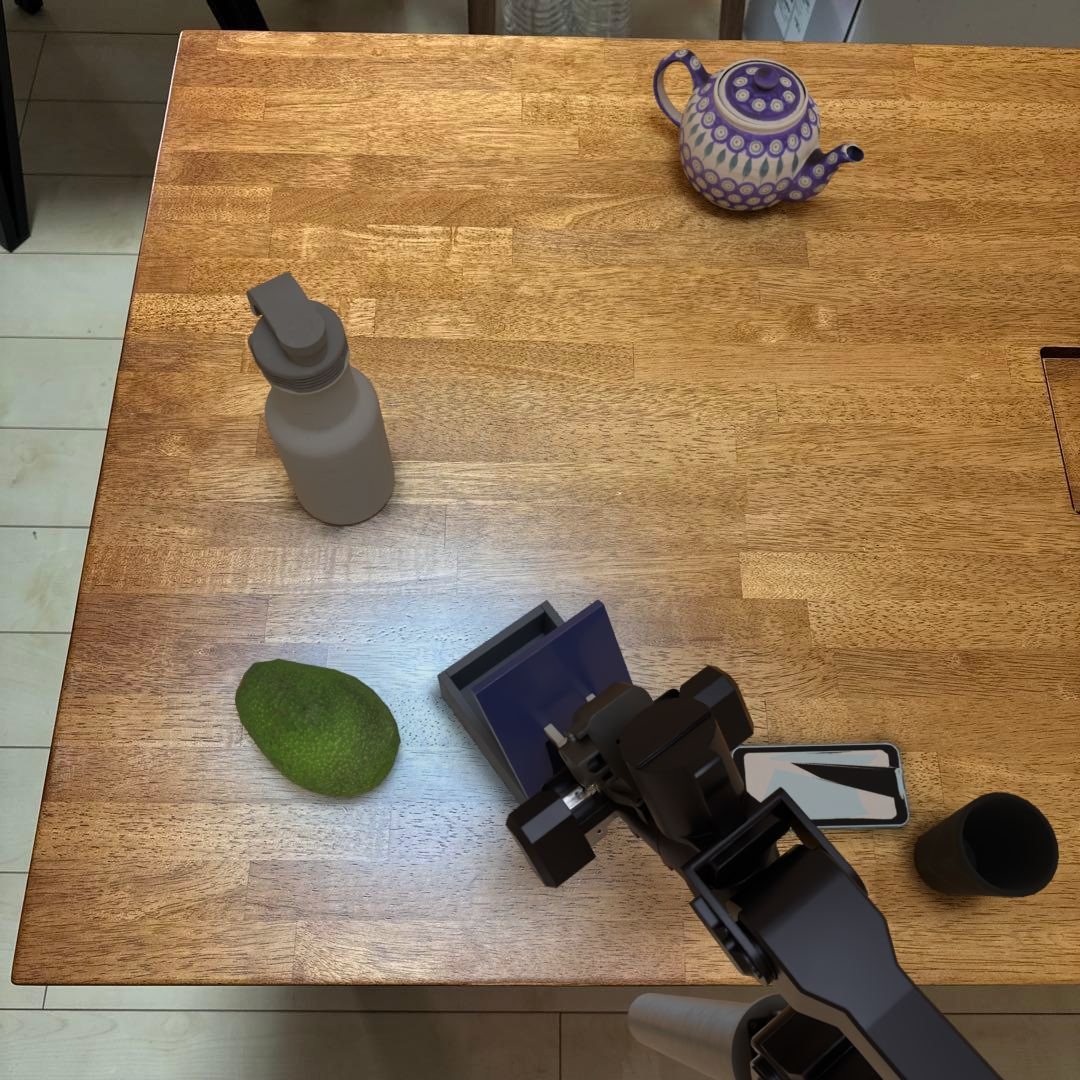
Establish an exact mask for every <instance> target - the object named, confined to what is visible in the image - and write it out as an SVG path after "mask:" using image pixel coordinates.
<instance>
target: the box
mask: <svg viewBox="0 0 1080 1080" xmlns="http://www.w3.org/2000/svg"><path fill="white" fill-rule="evenodd" d="M565 622H566V621H564V619H563V617H562V616H561V615H560V614H559V613H558V611H557V610H556V609H555V608H554V607H553V605H552V603H550V602H549V600H548V599H545V600H544V601H542V602H541V603H540V604H538V605H537V606H535V607H534V608H533V609H531V610H529V611H528V612H527V613H525V614H523V615H522V616H521V617H519V618H518V619H516V620H515V621H513V622H512V623H510V624H509V625H507V626H506V627H505V628H503V629H501V630H500V631H499V632H498V633H496V634H495V635H493V636H492V637H490V638H489V639H487V640H486V641H485V642H483V643H481V644H480V645H478V646H477V647H476V648H474V649H472V650H471V651H470V652H468V653H467V654H465V655H464V656H463V657H461V658H460V659H458V660H457V661H455V662H453V664H451V665H450V666H448V667H447V668H445V669H443V670H442V671H441V672H439V673H438V674H437V675H436V678H437V683H438V685H439V690H440V694H441V697H442V699H443V700H444V702H445V703H446V704H447V706H448V707H449V708H450V709H451V712H452V713H453V714H454V715H455V717H456V718H457V720H458V721H459V722H460V724H461V725H462V727H463V728H464V729H465V731H466V732H467V733H468V735H469V737H470V738H471V739H472V741H473V742H474V744H475V745H476V746H477V747H478V749H479V750H480V752H481V753H482V754H483V756H484V757H485V759H486V760H487V762H488V763H489V764H490V766H491V767H492V769H493V770H494V771H495V772H496V774H497V775H498V778H500V780H501V782H503V784H504V785H505V786H506V788H507V789H508V791H509V792H510V794H511V796H512V797H513V798H514V799H515V801H516V802H517V804H518V805H519V806H520V805H521V804H523V803H524V802H525V801H527V798H526V796H525V794H524V792H523V790H522V788H521V786H520V784H519V782H518V780H517V778H516V776H515V775H514V773H513V771H512V769H511V767H510V765H509V763H508V761H507V759H506V757H505V755H504V753H503V751H502V750H501V748H500V746H499V744H498V742H497V740H496V738H495V736H494V734H493V732H492V730H491V728H490V726H489V725H488V723H487V721H486V719H485V717H484V715H483V713H482V711H481V709H480V707H479V705H478V703H477V701H476V700H475V698H474V696H473V694H472V692H471V690H470V688H472V687H473V686H475V685H476V684H478V683H479V682H480V681H482V680H483V679H485V678H486V677H488V676H489V675H490V674H492V673H493V672H495V671H496V670H498V669H499V668H500V667H502V666H503V665H505V664H506V663H508V662H509V661H510V660H512V659H513V658H515V657H516V656H518V655H519V654H520V653H522V652H523V651H525V650H526V649H528V648H529V647H530V646H532V645H533V644H535V643H536V642H538V641H539V640H540V639H542V638H543V637H545V636H546V635H548V634H549V633H550V632H552V631H553V630H555V629H556V628H558V627H559V626H560V625H562V624H563V623H565Z"/></svg>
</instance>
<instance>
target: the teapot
mask: <svg viewBox="0 0 1080 1080" xmlns="http://www.w3.org/2000/svg"><path fill="white" fill-rule="evenodd" d="M673 63H682V64H683V65H684V66H685V67H686V69H687V71H688V72H689V74H690V77H691V85H692V91H691V95H690V96H689V98H688V101H687V102H686V105H685V107H684V109H683V112H681V111H680V110H679V109H678V108H677V107H675V105H674V104H673V102H672V101H671V100H670V98H669V96H668V94H667V91H666V87H665V83H664V80H665V79H664V78H665V72H666V70H668V68H669V66H670V65H672V64H673ZM652 78H653V79H652V92H653V96H654V99H655V101H656V103H657V105H658V107H659V109H660V110H661V111H662V113H663V114H664V115H665V116H666V117H667V119H668V120H670V122H672V123H673V124H674V126H676V127H677V128H678V130H679V132H678V151H679V159H680V163H681V167H682V170H683V172H684V174H685V176H686V178H687V180H688V181H689V182H688V183H690V184H691V186H692V187H693V188H694V189H695V190H696V192H698V193H699V194H701V196H702V197H704V198H705V199H706V200H708V201H710V202H711V203H713V204H714V205H716V206H719V208H724V209H727V210H732V211H755V210H764V209H766V208H770V207H772V206H774V205H776V204H779V203H782V202H787V203H790V204H797V203H804V202H807V201H810V200H813V199H814V198H816V197H817V196H818V195H819V194H820V193H822V191H823V190H824V189H825V188H826V187H827V185H829V183H830V182H831V180H832V178H833V177H834V175H836V173H837V171H838V170H839V169H840V168H841V167H842V166H843V165H845V164H849V163H860V162H862V161H863V160H864V159H865V153H864V150H863V149H862V148H861V147H860V146H859V145H858V144H855V143H853V142H845V143H842V144H839V145H837V146H835V147H834V148H832V149H831V150H830V151H828V152H826V153H825V152H823V151H822V150H821V147H820V134H821V127H822V126H821V119H820V107H819V105H818V104H817V102H816V100H815V99H814V97H813V96H812V94H811V93H810V92H809V90H808V88H807V86H806V83H805V82H804V80H803V79H802V77H801V75H800V74H798V73H797V72H796V71H795V70H793V69H792V68H790V67H789V66H787V65H786V64H784V63H781V62H778V61H776V60H772V59H768V58H763V57H762V58H761V57H751V58H744V59H740V60H738V61H735V62H733V63H731V64H729V65H727V66H726V67H724V68H721V69H719V70H717V71H716V72H713V73H710V72H708V71H707V70H706V68H705V67H704V65H703V63H702V62H701V60H700V59H699V58H698V56H697V55H696V54H695V53H694V52H693V51H692V50H690V49H688V48H681V49H677V50H675V51H673V52H671V53H669V54H667V55H666V56H664V57H663V58H662V59H661V60H659V61H658V64H657V65H656V67H655V69H654V73H653V77H652Z"/></svg>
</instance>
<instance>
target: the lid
mask: <svg viewBox="0 0 1080 1080" xmlns="http://www.w3.org/2000/svg"><path fill="white" fill-rule="evenodd" d="M564 622H565V623H563V624H562V625H560V626H559V627H558V628H556V629H555V630H553V631H552V632H550V633H549V634H548V635H546V636H545V637H543V638H542V639H540V640H539V641H538V642H536V643H535V644H533V645H532V646H530V647H529V648H528V649H526V650H525V651H523V652H522V653H520V654H519V655H518V656H516V657H515V658H513V659H512V660H510V661H509V662H508V663H506V664H505V665H503V666H502V667H500V668H499V669H498V670H496V671H495V672H493V673H492V674H490V675H489V676H488V677H486V678H485V679H483V680H482V681H480V682H479V683H478V684H476V685H475V686H473V687H472V688H470V690H471V692H472V694H473V696H474V698H475V700H476V701H477V703H478V705H479V707H480V709H481V711H482V713H483V715H484V717H485V719H486V721H487V723H488V725H489V726H490V728H491V730H492V732H493V734H494V736H495V738H496V740H497V742H498V744H499V746H500V748H501V750H502V751H503V753H504V755H505V757H506V759H507V761H508V763H509V765H510V767H511V769H512V771H513V773H514V775H515V776H516V778H517V780H518V782H519V784H520V786H521V788H522V790H523V792H524V794H525V796H526V798H527V800H528V799H529V798H531V797H532V796H533V795H535V794H536V793H537V792H539V791H540V789H541V786H542V784H543V783H544V782H545V781H547V780H548V779H549V778H551V777H552V776H553V769H552V765H551V761H550V758H549V755H548V751H547V748H546V745H545V742H547V741H548V740H550V741H551V742H553V743H554V744H555V745H556V746H557V747H558V748H560V747H561V746H562V745H564V744H565V743H566V742H567V737H566V736H565V734H564V731H565V730H567V729H568V728H569V727H571V726H572V716H573V714H574V712H575V711H576V710H577V709H578V708H579V707H581V706H582V705H584V704H586V703H588V702H589V701H590V700H592V699H593V698H595V697H596V696H597V695H599V694H600V693H601V692H603V691H604V690H605V689H606V688H607V687H608V686H609V685H611V684H612V683H614V682H618V681H622V682H626V683H629V684H633V685H634V683H633V679H632V678H631V675H630V672H629V669H628V667H627V664H626V661H625V658H624V655H623V652H622V650H621V648H620V647H621V646H620V643H619V642H618V639H617V635H616V634H615V631H614V628H613V625H612V622H611V620H610V617H609V614H608V611H607V609H606V606H605V603H603V602H602V601H601V600H600V599H596V600H595V601H593V602H592V603H591V604H589V605H587V606H586V607H585V608H583V609H582V610H580V611H579V612H578V613H576V614H574V615H573V616H572V617H569V619H567V620H566V621H564Z"/></svg>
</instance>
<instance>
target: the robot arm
mask: <svg viewBox="0 0 1080 1080" xmlns="http://www.w3.org/2000/svg"><path fill="white" fill-rule="evenodd" d="M754 723H755V722H754V721H753V718H752V716H751V714H750V711H749V708H748V706H747V704H746V701H745V699H744V697H743V694H742V692H741V689H740V687H739V685H738V683H737V682H736V680H735V679H734V678H733V677H732V676H731V674H729V673H728V672H726V671H724V670H723V669H721V668H720V667H718V666H716V665H710V664H707V665H706V666H705V667H703V668H702V669H701V670H700V671H698V672H697V673H695V674H694V675H693V676H691V677H690V678H689V679H687V680H686V681H685V682H683V683H682V684H680V687H679V689H677V688H669V689H667V690H666V691H665V692H663V693H662V694H660V695H659V696H658V697H657V698H655V699H653V698H652V697H651V695H650V693H649V691H648V690H646V689H645V688H644V687H642V686H640V685H636V684H634V683H633V684H629V683H626V682H622V681H618V682H614V683H612V684H611V685H609V686H608V687H607V688H606V689H605V690H604V691H603V692H601V693H600V694H599V695H597V696H596V697H595V698H593V699H592V700H590V701H589V702H588V703H586V704H584V705H582V706H581V707H579V708H578V709H577V710H576V711H575V712H574V714H573V716H572V726H571V727H569V728H568V729H567V730H565V731H564V734H565V736H566V737H567V742H566V743H565V744H564V745H562V746H561V747H560V748H558V747H557V746H556V745H555V744H554V743H553V742H551V741H550V740H548V741H547V742H545V745H546V748H547V751H548V755H549V758H550V761H551V765H552V769H553V776H552V777H551V778H549V779H548V780H547V781H545V782H544V783H543V784H542V786H541V789H540V791H539V792H537V793H536V794H535V795H533V796H532V797H531V798H529V799H528V800H527V801H525V802H524V803H523V804H521V805H519V806H517V807H516V808H514V809H512V811H510V812H509V813H508V815H507V818H506V820H505V824H504V825H505V827H506V829H507V830H508V832H509V833H510V835H511V837H512V838H513V840H514V842H515V843H516V845H517V846H518V849H519V850H520V851H521V853H522V855H523V857H524V858H525V860H526V862H527V863H528V865H529V866H530V868H531V870H532V872H533V873H534V875H535V876H536V877H537V878H538V880H540V882H541V883H542V884H543V886H544V887H546V888H552V889H558V888H559V887H561V886H562V885H563V884H564V883H566V882H567V881H568V880H569V879H570V878H572V877H573V876H574V875H576V874H577V873H579V872H580V871H581V870H582V869H583V868H585V867H586V866H588V865H589V864H590V863H592V862H593V861H594V860H595V859H596V858H597V854H596V853H595V851H594V849H593V847H594V846H596V844H598V843H599V842H600V841H601V840H603V839H604V838H605V837H606V836H607V834H608V832H609V826H610V824H611V823H613V822H614V821H616V819H618V818H619V819H620V820H622V821H623V823H624V824H625V825H627V827H628V829H629V832H630V833H632V835H634V836H635V837H636V838H637V840H639V839H641V840H642V841H643V842H644V843H645V844H646V845H647V846H648V847H649V848H650V849H651V850H653V852H654V853H656V855H658V856H659V858H660V859H661V861H662V864H663V865H665V866H666V867H667V869H668V870H669V871H671V872H673V871H674V872H675V873H676V874H678V876H679V877H680V878H682V880H684V882H685V885H686V886H687V888H688V890H689V892H690V893H691V894H692V896H693V897H694V898H693V899H691V900H690V901H689V902H688V905H689V907H690V908H691V909H692V911H693V912H694V913H695V915H696V916H697V917H698V919H699V920H700V921H701V923H702V924H703V926H704V927H705V929H706V930H707V931H708V932H709V934H710V936H712V938H713V940H714V941H715V942H716V943H717V945H718V946H719V947H720V949H721V950H722V952H723V953H724V954H725V956H726V957H727V959H728V960H729V961H730V963H731V964H732V966H733V967H734V968H735V969H736V970H737V971H738V973H739V974H741V975H742V976H744V977H751V978H753V979H754V980H756V981H757V983H758V984H760V985H761V986H763V987H767V988H768V986H769V985H771V986H773V988H774V989H775V990H776V991H777V993H780V994H781V995H782V997H783V998H784V999H785V1000H786V1001H787V1002H788V1003H789V1004H790V1005H789V1006H787V1007H786V1008H785V1009H779V1010H771V1012H770V1013H769V1014H770V1016H769V1017H759V1018H751V1019H749V1020H748V1021H747V1025H746V1026H747V1033H748V1039H749V1046H750V1053H751V1060H752V1061H751V1062H750V1067H751V1076H752V1080H1005V1079H1004V1078H1003V1077H1002V1076H1001V1074H999V1073H998V1072H997V1071H996V1070H995V1068H994V1067H993V1066H992V1065H991V1064H990V1063H989V1062H988V1061H987V1059H986V1058H984V1056H983V1055H982V1054H981V1053H980V1052H979V1051H978V1050H977V1049H976V1047H974V1045H972V1044H971V1042H970V1040H968V1039H967V1038H966V1036H964V1034H962V1033H961V1031H960V1030H958V1028H957V1026H955V1025H954V1024H953V1023H952V1022H951V1021H950V1019H948V1017H947V1016H946V1015H945V1014H944V1013H943V1012H942V1011H941V1010H940V1009H939V1008H938V1007H937V1006H936V1004H934V1002H933V1001H932V1000H931V998H929V997H928V996H927V995H926V994H925V993H924V992H923V991H922V989H921V988H920V987H919V986H918V985H917V983H915V981H913V979H912V978H911V977H910V976H909V975H908V973H907V972H906V971H905V970H904V969H903V967H902V966H901V965H900V964H899V961H898V956H897V953H896V950H895V946H894V942H893V938H892V934H891V931H890V927H889V923H888V920H887V918H886V916H885V915H884V913H883V912H882V911H881V910H880V909H879V907H878V906H877V905H876V904H875V903H874V901H873V900H872V899H871V898H870V897H869V891H868V888H867V886H866V884H865V883H864V881H863V880H862V878H861V876H860V875H859V873H858V872H857V871H856V870H855V868H854V867H853V866H852V865H851V864H850V863H849V862H848V860H847V859H846V858H845V857H844V856H843V855H842V854H841V853H840V852H839V850H838V849H837V848H836V847H835V845H834V844H832V842H831V841H830V840H829V839H828V837H827V836H826V835H825V834H824V833H823V832H822V831H821V829H818V827H817V826H816V825H815V824H814V823H813V822H812V821H811V819H810V818H809V817H808V816H807V815H806V814H805V813H804V811H803V810H802V809H801V808H800V807H799V806H798V805H797V803H796V802H795V801H794V800H793V799H792V798H791V797H790V795H789V794H788V793H787V792H786V791H785V790H784V789H783V788H782V787H779V788H778V789H777V790H775V791H774V792H773V793H772V794H770V795H769V796H768V797H767V798H765V799H764V800H763V801H762V802H759V801H758V800H757V799H756V798H754V797H753V796H752V795H750V793H749V792H748V791H747V790H746V788H745V786H744V783H743V781H742V779H741V776H740V774H739V772H738V769H737V767H736V765H735V763H734V760H733V758H732V756H731V752H732V751H733V750H734V749H736V748H737V747H738V746H742V744H743V743H745V742H746V741H747V740H749V739H750V738H751V737H752V736H754V732H755V724H754ZM592 785H593V786H594V788H595V791H594V792H593V793H591V792H590V791H589V790H588V789H589V788H590V787H591V786H592ZM790 827H791V828H792V830H790ZM790 831H793V832H794V834H795V836H796V837H797V839H798V840H799V841H800V843H794V844H793V845H792V846H791V847H790V848H789V849H787V850H786V851H785V852H784V853H783V854H782V855H781V852H780V849H779V848H778V843H777V842H778V841H779V840H780V839H782V838H783V837H784V836H786V834H788V832H790ZM751 1022H755V1024H756V1027H755V1028H751V1026H750V1025H751Z"/></svg>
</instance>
